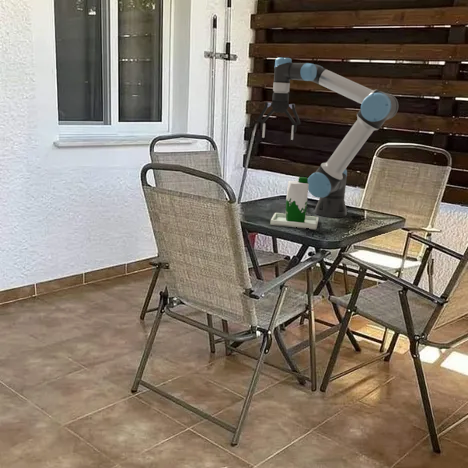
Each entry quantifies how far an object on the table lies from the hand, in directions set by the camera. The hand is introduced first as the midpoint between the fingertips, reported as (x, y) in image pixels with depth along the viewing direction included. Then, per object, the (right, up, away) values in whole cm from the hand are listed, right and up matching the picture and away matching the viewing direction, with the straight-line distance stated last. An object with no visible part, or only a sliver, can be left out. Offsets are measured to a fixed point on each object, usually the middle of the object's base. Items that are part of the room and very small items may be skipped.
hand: (277, 138), depth 288 cm
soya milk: (+7, -40, -16) cm, 43 cm away
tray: (+7, -40, -16) cm, 44 cm away
